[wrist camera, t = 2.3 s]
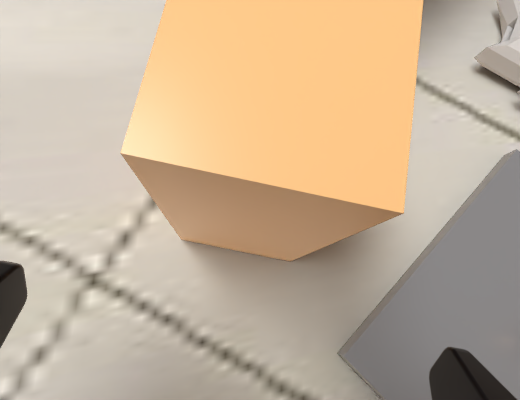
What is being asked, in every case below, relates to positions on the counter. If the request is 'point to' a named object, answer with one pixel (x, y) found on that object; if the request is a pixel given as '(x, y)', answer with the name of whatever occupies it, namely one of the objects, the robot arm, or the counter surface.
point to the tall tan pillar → (277, 120)
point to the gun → (505, 44)
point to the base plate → (452, 298)
